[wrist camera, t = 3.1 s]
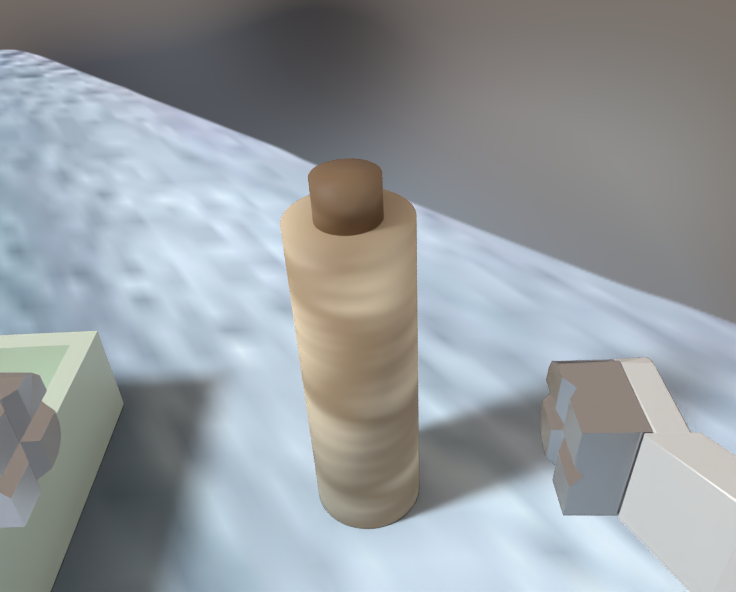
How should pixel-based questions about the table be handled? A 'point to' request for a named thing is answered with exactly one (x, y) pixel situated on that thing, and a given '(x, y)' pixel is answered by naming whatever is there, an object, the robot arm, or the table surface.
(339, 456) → the pepper mill
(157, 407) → the table surface
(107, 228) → the table surface
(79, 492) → the bin
